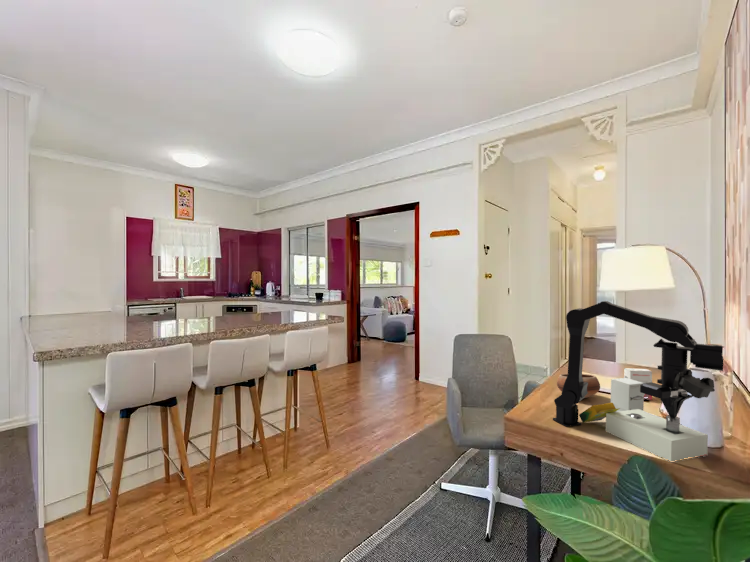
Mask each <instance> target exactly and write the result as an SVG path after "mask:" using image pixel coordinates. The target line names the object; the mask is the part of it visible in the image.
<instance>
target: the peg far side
mask: <svg viewBox="0 0 750 562" xmlns="http://www.w3.org/2000/svg"><path fill="white" fill-rule="evenodd" d="M665 419H666V431H668V432H670V433H673V434H679V430H680V425H681V423H680V417H678V416H676V418H672V417H670V416H669V414H668V415H666V418H665Z"/></svg>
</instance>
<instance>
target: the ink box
mask: <svg viewBox="0 0 750 562" xmlns="http://www.w3.org/2000/svg"><path fill="white" fill-rule="evenodd" d="M623 370H624V371H623V373H624V374H623V378H628V379H632V380H635V381H639V382H642V383H650V382H653V371H651V370H649V369H647V368H633V367H632V368H631V367H630V368H629V367H628V368H626V367H625V368H624V369H623ZM644 397H648V399H647V400H648V401H649V400H650V401H653V396H650V395H647V394H644Z"/></svg>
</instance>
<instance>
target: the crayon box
mask: <svg viewBox="0 0 750 562" xmlns="http://www.w3.org/2000/svg"><path fill="white" fill-rule="evenodd" d="M619 409H620V408H618V409H616V408H615V406H614V404H613V403H611V402H606V403H599V404H593V405H591V406H589V407H588V408H587V409H586V410H584V411H582V412H581V413H578V417H579V418H580V420H581V423H582V424H584V422H585V423H592V422H598V421H602V420H604V419H606V413H611V412H615V411H617V410H619Z"/></svg>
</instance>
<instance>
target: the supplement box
mask: <svg viewBox="0 0 750 562" xmlns="http://www.w3.org/2000/svg"><path fill="white" fill-rule="evenodd" d="M641 384H643V383H642V382H639V381H635V380H632V379H628V378H624V377H622V378H621V377H620V378H611V379H610V403H613V404H614V406H615V408H616V409H618V408H620V409H619V410H617V411H615V412H619V411H627V410H635V409H640V410H643V411H644V407H645V406H644V400H645V399H644V393H641V392H640V385H641Z"/></svg>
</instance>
